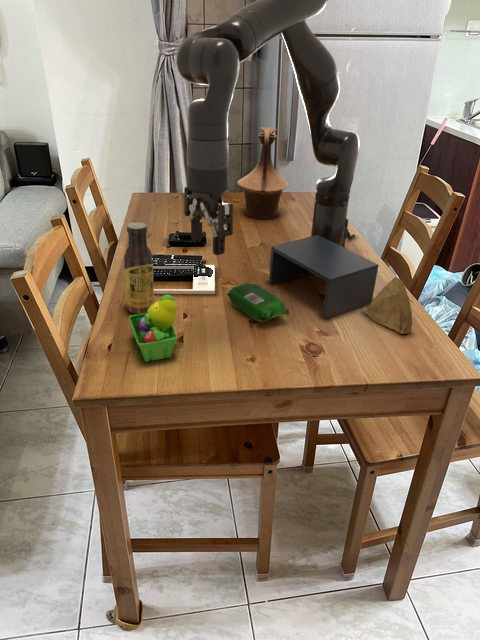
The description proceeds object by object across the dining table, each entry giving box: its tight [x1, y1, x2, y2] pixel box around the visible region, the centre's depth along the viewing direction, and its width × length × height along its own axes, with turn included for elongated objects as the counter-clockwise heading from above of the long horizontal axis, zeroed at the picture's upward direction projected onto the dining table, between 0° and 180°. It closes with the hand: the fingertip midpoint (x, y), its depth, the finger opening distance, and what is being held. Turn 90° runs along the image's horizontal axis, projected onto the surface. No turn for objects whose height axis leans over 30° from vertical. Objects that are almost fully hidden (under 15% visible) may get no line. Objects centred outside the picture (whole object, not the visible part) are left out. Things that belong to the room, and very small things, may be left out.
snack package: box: [226, 281, 290, 324], centre depth 115 cm, size 7×16×5 cm, turn 35°
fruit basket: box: [128, 294, 178, 362], centre depth 100 cm, size 11×9×11 cm
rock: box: [364, 276, 413, 335], centre depth 112 cm, size 11×9×10 cm
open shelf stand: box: [268, 235, 379, 320], centre depth 123 cm, size 15×21×10 cm
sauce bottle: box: [123, 221, 155, 314], centre depth 111 cm, size 6×6×20 cm
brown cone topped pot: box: [237, 126, 290, 219], centre depth 166 cm, size 18×17×28 cm
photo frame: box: [153, 264, 216, 295], centre depth 128 cm, size 15×1×18 cm
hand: (207, 246), depth 101 cm, fingers open, 8 cm apart
